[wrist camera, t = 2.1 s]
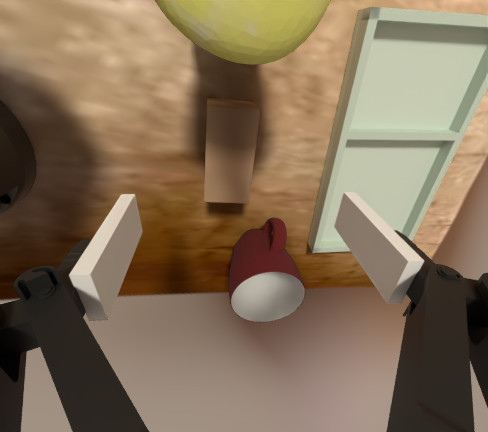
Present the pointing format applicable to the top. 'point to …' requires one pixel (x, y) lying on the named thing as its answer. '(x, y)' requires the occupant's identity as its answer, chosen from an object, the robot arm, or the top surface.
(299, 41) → the toy
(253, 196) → the top surface
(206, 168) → the brown rectangular block
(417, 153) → the jig
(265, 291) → the mug
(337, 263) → the top surface
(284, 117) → the top surface
